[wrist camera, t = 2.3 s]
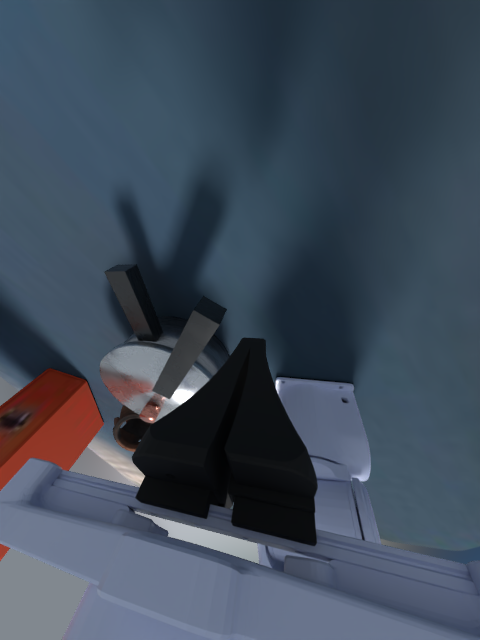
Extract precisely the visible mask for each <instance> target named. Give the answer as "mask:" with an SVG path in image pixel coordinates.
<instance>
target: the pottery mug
mask: <svg viewBox="0 0 480 640" xmlns="http://www.w3.org/2000/svg"><path fill="white" fill-rule="evenodd" d="M125 421H126V424H125V425H124V426H123V427H122V428H120V426H121V424H122V423H123V422H125ZM151 424H153V423H148V422H145V421H143V420H142V419H141V418H140V417H139V414H137V413H136V412H134V411H132V410H131V409H129V408H128V407H126V406H124V405H123V407H122V410H121V414H120V418H119V417H117V418H114V425H115V426H114V428H113V435H114V438H115V440H116V442H117V443H118V444H119V445H120V446H121V447H122V448H125V449H126V450H129V451H133V452H135V450H136V449H137V447H138V445H139V443H140V442H138V441H139V440H140V439H142V438H143V436H144V434H145V433H146V431H147V430H148V428H149V427H150V425H151Z"/></svg>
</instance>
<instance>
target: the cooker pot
mask: <svg viewBox="0 0 480 640" xmlns="http://www.w3.org/2000/svg"><path fill="white" fill-rule="evenodd" d="M105 274H106V276H107V278H108V280H109V282H110V284H111V286H112V288H113V290H114V293H115V295H116V297H117V299H118V301H119V303H120V305H121V307H122V309H123V311H124V313H125V315H126V317H127V319H128V321H129V323H130V325H131V327H132V329H133V331H134V333H133V334H132V335H131V336H130V337H129V338H128V339H127V340H126V341H125V342H124V343H126V342H133V341H143V342H151V343H157V344H160V345H164V346H167V347H170V348H173V349H174V347H175V345H176V343H177V341H178V339H179V337H180V335H181V333H182V331H183V329H184V327H185V326H186V324H187V322H188V320H185V319H182V318H177V317H169V316H164V317H157V315H156V312H155V310H154V307H153V305H152V302H151V300H150V297H149V294H148V292H147V289H146V287H145V284H144V282H143V279H142V277H141V274H140V271H139V269H138V266H137V264H135V265H116V266H114V267H112V268H110V269H109V270H107V271H105ZM228 358H229V355H228V352H227V350H226V349H225V347H224V346H223V344H222V343H221V342H220V341H219V340H218V339H217V338H216V336H214V335H213V336H212V337H211V339H210V340H209V342H208V343H207V344H206V346H205V347H204V349H203V350H202V352H201V353H200V355H199V356H198V358H197V359H196V361H197V362H198V363H200V364H201V365H202V366H204V367H205V368H206V369H207V370H208V371H209V372H210V373H211V374H212V375H213V376H214V375H215V374H216V373H217V371H218V370H219V369H220V368H221V367H222V366H223V364H224V363H225V362H226V361H227V359H228Z"/></svg>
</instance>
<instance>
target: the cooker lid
mask: <svg viewBox="0 0 480 640" xmlns="http://www.w3.org/2000/svg"><path fill="white" fill-rule="evenodd" d="M226 310H227V309H225V308H223V307H222V306H220V305H218V304H216V303H215V302H213V301H211V300H210V299H208V298H206V297H204V296H203V297H202V299H201V300H200V302H199V303H198V304H197V306H196V307H195V309H194V310H193V312H192V314H191V316H190V318H189V320H188V322H187V324H186V326H185V327H184V329H183V331H182V333H181V335H180V337H179V339H178V341H177V343H176V345H175V347H174V349H173V348H170V347H167V346H164V345H160V344H157V343H151V342H143V341H133V342H126V343H123V344H120V345H118V346H116V347H114V348H113V349H112V350H111V351H110V352H109V353H108V354H107V355H106V356H105V357H104V358H103V359H102V361H101V364H100V374H101V378H102V380H103V382H104V384H105V386H106V387H107V388H108V390H109V391H110V392H111V393H112V394H113V396H114V397H116V398H117V399H118V400H119V401H120V402H121V403H122V404H124V405H125V406H126V407H128V408H129V409H131V410H132V411H134V412H136V413H137V414H139V417H140V418H141V419H142V420H143V421H145V422H148V423H154V422H156V421H158V420H159V419H161V418H162V417H164V416H165V415H167V414H168V413H170V412H171V411H173V410H174V409H176V408H177V407H178V406H179V405H181V404H182V403H183V402H185V401H186V400H187V399H189V398H190V397H191V396H192V395H194V394H195V393H196V392H197V391H198V390H199V389H200V388H202V387H203V386H204V385H205V384H206V383H207V382H208V381H209V380H210V379H211V378H212V377H213V375H212V374H211V373H210V372H209V371H208V370H207V369H206V368H205V367H204V366H202V365H201V364H200V363H198V362H197V361H196V359H197V358H198V356H199V355H200V353H201V352H202V350H203V349H204V347H205V346H206V344H207V343H208V342H209V340H210V339H211V337H212V336H213V334H214V333H215V331H216V330H217V328H218V327H219V325H220V323H221V321H222V319H223V316H224V314H225V312H226Z"/></svg>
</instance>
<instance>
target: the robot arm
mask: <svg viewBox="0 0 480 640" xmlns="http://www.w3.org/2000/svg"><path fill="white" fill-rule="evenodd" d="M353 390H354V386H353V384H350V383H339V382H328V381H317V380H306V379H295V378H284V377H277V378H276V388H275V385H274V382H273V380H272V377H271V373H270V370H269V366H268V362H267V358H266V340H264V339H259V338H242V339H241V341H240V343H239V344H238V346H237V347H236V349H235V350H234V352H233V353H232V354H231V356H230V357H229V358H228V359H227V361H226V362H225V363H224V364H223V366H222V367H221V368H220V369H219V370H218V371H217V373H216V374H215V375H214V376H213V377H212V378H211V379H210V380H209V381H208V382H207V383H206V384H205V385H204V386H203V387H202V388H200V389H199V390H198V391H197V392H196V393H195V394H194V395H192V396H191V397H190V398H189V399H187V400H186V401H185V402H183V403H182V404H181V405H179V406H178V407H177V408H176V409H174V410H173V411H171V412H170V413H168V414H167V415H165V416H164V417H162V418H161V419H159V420H158V421H156V422H154V423H153V424H151V425H150V427H149V428H148V430H147V431H146V433H145V434H144V436H143V438H142V439H141V441H140V443H139V445H138V447H137V449H136V450H135V452H134V454H133V456H132V460H133V463H134V464H135V465H136V466H137V468H138V469H139V470H140V471H141V472H142V473H143V474H144V475H145V478H144V480H143V482H142V484H141V486H140V488H139V487H135V486H130V485H126V484H122V483H117V482H113V481H109V480H104V479H100V478H96V477H92V476H87V475H83V474H79V473H75V472H71V471H66V470H62V468H61V467H60V466H58V465H57V464H55V463H53V462H50V461H46V460H41V459H37V458H30V459H29V460H28V461H27V462H26V463H25V464H24V466H23V467H22V468H21V469H20V470H19V471H18V472H17V473H16V474H15V475H14V477H13V478H12V479H11V480H10V481H9V482H8V483H7V484H6V485H5V486H4V487H3V489H2V490H1V491H0V544H2V545H5V546H7V547H9V548H12V549H14V550H16V551H19V552H21V553H23V554H26V555H28V556H30V557H32V558H35V559H37V560H39V561H42V562H44V563H46V564H49V565H51V566H53V567H55V568H58V569H60V570H62V571H65V572H67V573H69V574H71V575H74V576H76V577H78V578H81V579H83V580H85V581H88V582H89V585H88V587H87V589H86V591H85V593H84V595H83V597H82V599H81V601H80V603H79V605H78V607H77V609H76V612H75V613H74V615H73V618H72V620H71V622H70V624H69V626H68V628H67V630H66V632H65V634H64V636H63V638H62V640H480V561H471V562H469V563H468V564H467V565H466V564H462V563H458V562H454V561H449V560H445V559H441V558H437V557H432V556H428V555H424V554H420V553H415V552H411V551H407V550H402V549H398V548H394V547H390V546H386V545H381V541H380V537H379V533H378V529H377V525H376V521H375V517H374V513H373V509H372V505H371V502H370V498H369V494H368V491H367V488H366V486H365V485H364V484H363V483H362V482H360V481H366V480H367V479H368V478H369V475H370V469H371V458H370V450H369V444H368V440H367V436H366V433H365V429H364V426H363V423H362V420H361V416H360V413H359V410H358V407H357V403H356V400H355V397H354V394H353ZM351 480H352V481H353V486H354V494H353V489H352V484H351ZM354 495H355V499H354ZM355 500H356V503H355ZM233 502H234V506H233ZM356 504H357V507H356ZM232 506H233V510H232V509H230V508H231V507H232ZM134 511H137V512H141V513H144V514H148V515H152V516H156V517H160V518H163V519H167V520H171V521H175V522H179V523H182V524H186V525H190V526H194V527H197V528H201V529H205V530H209V531H213V532H216V533H220V534H224V535H228V536H232V537H236V538H239V539H243V540H247V541H251V542H255V543H257V544H258V554H259V564H257V563H254V562H251V561H248V560H245V559H242V558H239V557H236V556H233V555H229V554H226V553H223V552H220V551H217V550H213V549H210V548H207V547H203V546H200V545H197V544H193V543H190V542H186V541H182V540H179V539H175V538H171V537H167V536H168V531H167V530H165V529H163V528H161V527H159V526H158V525H156V524H155V523H154V522H153V521H152V520H151V519H149V518H146V517H144V516H141V515H138V514H135V512H134Z"/></svg>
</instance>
